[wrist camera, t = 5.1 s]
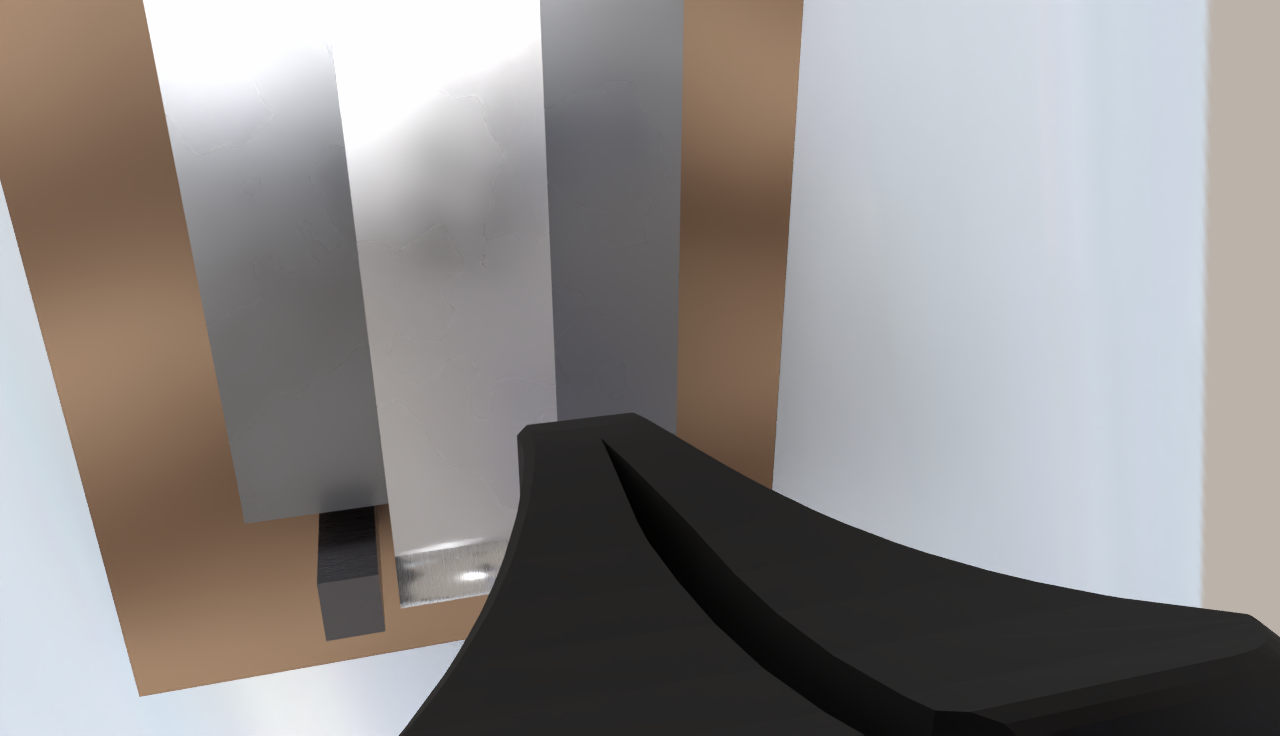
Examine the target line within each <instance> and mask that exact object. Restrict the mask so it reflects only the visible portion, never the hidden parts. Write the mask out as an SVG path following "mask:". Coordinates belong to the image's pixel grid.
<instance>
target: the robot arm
mask: <svg viewBox="0 0 1280 736" xmlns="http://www.w3.org/2000/svg"><path fill="white" fill-rule="evenodd" d="M517 447H518V466H519V485H520V499H519V505H518V511H517V515H516V519H515V523H514V526H513V529H512V533H511V536H510V539H509V542H508V546H507V549H506V552H505V556H504V559H503V561H502V564H501V567H500V569H499V572H498V574H497V577H496V579H495V582H494V584H493V587H492V589H491V591H490V593H489V595H488V598H487V600H486V602H485V604H484V606H483V609H482V611H481V613H480V615H479V616H478V618H477V620H476V622H475V624H474V626H473V627H472V629H471V631H470V633H469V635H468V636H467V638H466V640H465V642H464V644H463V646H462V647H461V649H460V651H459V652H458V654H457V656H456V657H455V659H454V661H453V662H452V664H451V665H450V667H449V668H448V670H447V672H446V673H445V675H444V676H443V677H442V679H441V680H440V681H439V683H438V684H437V686H436V687H435V688H434V690H433V691H432V692H431V694H430V695H429V696H428V698H427V699H426V700H425V702H424V703H423V704H422V706H421V707H420V709H419V710H418V711H417V713H416V714H415V715H414V717H413V718H412V719H411V721H410V722H409V723H408V725H407V726H406V727H405V729H404V730H403V731H402V732H401V733H400V735H399V736H1280V637H1279V636H1278V635H1276V634H1275V633H1274V632H1273V631H1271V630H1270V629H1269V628H1267V627H1266V626H1265V625H1263V624H1262V623H1261V622H1260V621H1258V620H1257V619H1255V618H1254V617H1252V616H1250V615H1248V614H1242V613H1233V612H1226V611H1218V610H1211V609H1203V608H1195V607H1187V606H1179V605H1172V604H1164V603H1156V602H1148V601H1140V600H1132V599H1125V598H1118V597H1112V596H1106V595H1101V594H1096V593H1090V592H1085V591H1080V590H1075V589H1070V588H1065V587H1060V586H1055V585H1049V584H1044V583H1039V582H1035V581H1030V580H1026V579H1022V578H1017V577H1013V576H1009V575H1005V574H1000V573H996V572H992V571H988V570H985V569H981V568H978V567H974V566H971V565H967V564H963V563H960V562H956V561H953V560H949V559H946V558H942V557H939V556H935V555H932V554H928V553H925V552H922V551H919V550H916V549H913V548H910V547H907V546H904V545H901V544H898V543H895V542H892V541H890V540H887V539H884V538H882V537H879V536H876V535H874V534H871V533H868V532H866V531H863V530H861V529H858V528H855V527H853V526H850V525H847V524H845V523H842V522H840V521H837V520H835V519H833V518H830V517H828V516H826V515H823V514H821V513H819V512H817V511H814V510H812V509H810V508H808V507H806V506H804V505H802V504H800V503H798V502H796V501H794V500H792V499H789V498H787V497H785V496H783V495H781V494H779V493H777V492H775V491H773V490H771V489H769V488H767V487H765V486H763V485H761V484H759V483H758V482H756V481H754V480H752V479H750V478H748V477H746V476H744V475H743V474H741V473H739V472H737V471H735V470H734V469H732V468H730V467H728V466H727V465H725V464H723V463H721V462H719V461H718V460H716V459H714V458H713V457H711V456H709V455H707V454H706V453H704V452H702V451H701V450H699V449H697V448H695V447H694V446H692V445H690V444H689V443H687V442H685V441H684V440H682V439H680V438H679V437H677V436H675V435H674V434H672V433H670V432H669V431H667V430H665V429H663V428H662V427H660V426H658V425H657V424H655V423H653V422H651V421H650V420H648V419H646V418H644V417H642V416H640V415H638V414H636V413H633V412H631V413H623V414H614V415H606V416H597V417H589V418H580V419H572V420H564V421H555V422H547V423H538V424H530V425H526V426H525V427H524V428H523V429H522V430H521V432H520V433H519V434H518V435H517Z"/></svg>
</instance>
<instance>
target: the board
mask: <svg viewBox="0 0 1280 736" xmlns="http://www.w3.org/2000/svg"><path fill="white" fill-rule="evenodd" d="M803 1H804V0H684V24H683V81H682V138H681V195H680V253H679V310H678V367H677V424H676V436H677V437H679V438H680V439H682V440H684V441H685V442H687V443H689V444H690V445H692V446H694V447H695V448H697V449H699V450H701V451H702V452H704V453H706V454H707V455H709V456H711V457H713V458H714V459H716V460H718V461H719V462H721V463H723V464H725V465H727V466H728V467H730V468H732V469H734V470H735V471H737V472H739V473H741V474H743V475H744V476H746V477H748V478H750V479H752V480H754V481H756V482H758V483H759V484H761V485H763V486H765V487H767V488H769V489H771V490H772V483H773V467H774V452H775V436H776V421H777V405H778V389H779V374H780V358H781V343H782V327H783V312H784V296H785V281H786V265H787V250H788V234H789V219H790V203H791V188H792V172H793V156H794V141H795V125H796V110H797V94H798V79H799V63H800V48H801V32H802V17H803ZM0 180H1V184H2V188H3V191H4V195H5V199H6V203H7V206H8V210H9V214H10V217H11V221H12V225H13V228H14V232H15V236H16V240H17V243H18V247H19V251H20V254H21V258H22V262H23V266H24V269H25V273H26V277H27V280H28V284H29V288H30V292H31V295H32V299H33V303H34V306H35V310H36V314H37V318H38V321H39V325H40V329H41V332H42V336H43V340H44V344H45V347H46V351H47V355H48V358H49V362H50V366H51V370H52V373H53V377H54V381H55V384H56V388H57V392H58V396H59V399H60V403H61V407H62V410H63V414H64V418H65V422H66V425H67V429H68V433H69V436H70V440H71V444H72V448H73V451H74V455H75V459H76V462H77V466H78V470H79V474H80V477H81V481H82V485H83V488H84V492H85V496H86V500H87V503H88V507H89V511H90V514H91V518H92V522H93V525H94V529H95V533H96V537H97V540H98V544H99V548H100V551H101V555H102V559H103V563H104V566H105V570H106V574H107V577H108V581H109V585H110V589H111V592H112V596H113V600H114V603H115V607H116V611H117V615H118V618H119V622H120V626H121V629H122V633H123V637H124V641H125V644H126V648H127V652H128V655H129V659H130V663H131V667H132V670H133V674H134V678H135V681H136V685H137V689H138V693H139V696H140V697H141V696H147V695H152V694H158V693H164V692H169V691H175V690H181V689H186V688H192V687H198V686H203V685H209V684H215V683H220V682H226V681H232V680H237V679H243V678H249V677H254V676H260V675H266V674H271V673H277V672H283V671H288V670H294V669H300V668H306V667H311V666H317V665H323V664H328V663H334V662H340V661H345V660H351V659H357V658H362V657H368V656H374V655H379V654H385V653H391V652H396V651H402V650H408V649H413V648H419V647H425V646H430V645H436V644H442V643H447V642H453V641H459V640H464V639H466V638H467V636H468V635H469V633H470V631H471V629H472V627H473V626H474V624H475V622H476V620H477V618H478V616H479V615H480V613H481V611H482V609H483V606H484V604H485V602H486V600H487V598H488V595H489V594H486V595H480V596H474V597H468V598H462V599H456V600H450V601H444V602H438V603H432V604H426V605H420V606H414V607H408V608H402V609H401V605H400V598H399V589H398V580H397V571H396V562H395V552H394V544H393V536H392V528H391V519H390V511H389V504H382V505H376V507H377V515H378V524H379V539H380V554H381V569H382V584H383V599H384V614H385V629H386V631H384V632H378V633H373V634H367V635H361V636H355V637H349V638H343V639H337V640H332V641H326V637H325V631H324V625H323V619H322V613H321V607H320V601H319V594H318V588H317V564H318V534H319V513H318V514H311V515H303V516H296V517H289V518H282V519H275V520H268V521H261V522H253V523H246V524H245V522H244V517H243V511H242V506H241V501H240V496H239V491H238V486H237V481H236V475H235V470H234V465H233V460H232V455H231V450H230V445H229V439H228V434H227V429H226V424H225V419H224V414H223V409H222V403H221V398H220V393H219V388H218V383H217V378H216V373H215V367H214V362H213V357H212V352H211V347H210V342H209V337H208V331H207V326H206V321H205V316H204V311H203V306H202V301H201V295H200V290H199V285H198V280H197V275H196V270H195V265H194V259H193V254H192V249H191V244H190V239H189V234H188V229H187V223H186V218H185V213H184V208H183V203H182V198H181V193H180V187H179V182H178V177H177V172H176V167H175V162H174V157H173V151H172V146H171V141H170V136H169V131H168V126H167V121H166V115H165V110H164V105H163V100H162V95H161V90H160V85H159V79H158V74H157V69H156V64H155V59H154V54H153V49H152V43H151V38H150V33H149V28H148V23H147V18H146V13H145V7H144V2H143V0H0Z"/></svg>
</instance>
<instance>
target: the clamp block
mask: <svg viewBox="0 0 1280 736" xmlns="http://www.w3.org/2000/svg"><path fill="white" fill-rule="evenodd" d="M143 2H144V7H145V13H146V18H147V23H148V28H149V33H150V38H151V43H152V49H153V54H154V59H155V64H156V69H157V74H158V79H159V85H160V90H161V95H162V100H163V105H164V110H165V115H166V121H167V126H168V131H169V136H170V141H171V146H172V151H173V157H174V162H175V167H176V172H177V177H178V182H179V187H180V193H181V198H182V203H183V208H184V213H185V218H186V223H187V229H188V234H189V239H190V244H191V249H192V254H193V259H194V265H195V270H196V275H197V280H198V285H199V290H200V295H201V301H202V306H203V311H204V316H205V321H206V326H207V331H208V337H209V342H210V347H211V352H212V357H213V362H214V367H215V373H216V378H217V383H218V388H219V393H220V398H221V403H222V409H223V414H224V419H225V424H226V429H227V434H228V439H229V445H230V450H231V455H232V460H233V465H234V470H235V475H236V481H237V486H238V491H239V496H240V501H241V506H242V511H243V517H244V522H245V524H246V523H253V522H261V521H268V520H275V519H282V518H289V517H296V516H303V515H311V514H318V513H319V534H318V564H317V588H318V594H319V601H320V607H321V613H322V619H323V625H324V631H325V637H326V641H332V640H337V639H343V638H349V637H355V636H361V635H367V634H373V633H378V632H384V631H386V629H385V614H384V599H383V584H382V569H381V554H380V539H379V524H378V515H377V507H376V505H382V504H389V503H388V495H387V487H386V478H385V470H384V462H383V454H382V446H381V437H380V429H379V421H378V413H377V405H376V397H375V388H374V380H373V372H372V364H371V356H370V347H369V339H368V331H367V323H366V315H365V306H364V298H363V290H362V282H361V274H360V265H359V257H358V249H357V241H356V233H355V224H354V216H353V208H352V200H351V192H350V183H349V175H348V167H347V159H346V151H345V142H344V134H343V126H342V118H341V110H340V101H339V93H338V85H337V77H336V69H335V61H334V52H333V44H332V36H331V28H330V20H329V11H328V3H327V0H143ZM540 21H541V45H542V69H543V93H544V117H545V140H546V164H547V188H548V212H549V236H550V259H551V283H552V307H553V331H554V355H555V378H556V402H557V421H564V420H572V419H580V418H589V417H597V416H606V415H614V414H623V413H631V412H633V413H636V414H638V415H640V416H642V417H644V418H646V419H648V420H650V421H651V422H653V423H655V424H657V425H658V426H660V427H662V428H663V429H665V430H667V431H669V432H670V433H672V434H674V435H675V436H676V424H677V367H678V310H679V253H680V195H681V138H682V81H683V24H684V0H540Z"/></svg>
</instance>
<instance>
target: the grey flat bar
mask: <svg viewBox="0 0 1280 736" xmlns="http://www.w3.org/2000/svg"><path fill="white" fill-rule="evenodd" d="M327 3H328V11H329V20H330V28H331V36H332V44H333V52H334V61H335V69H336V77H337V85H338V93H339V101H340V110H341V118H342V126H343V134H344V142H345V151H346V159H347V167H348V175H349V183H350V192H351V200H352V208H353V216H354V224H355V233H356V241H357V249H358V257H359V265H360V274H361V282H362V290H363V298H364V306H365V315H366V323H367V331H368V339H369V347H370V356H371V364H372V372H373V380H374V388H375V397H376V405H377V413H378V421H379V429H380V437H381V446H382V454H383V462H384V470H385V478H386V487H387V495H388V503H389V511H390V519H391V528H392V536H393V544H394V552H395V562H396V571H397V580H398V589H399V598H400V605H401V609H402V608H408V607H414V606H420V605H426V604H432V603H438V602H444V601H450V600H456V599H462V598H468V597H474V596H480V595H486V594H489V593H490V591H491V589H492V587H493V584H494V582H495V579H496V577H497V574H498V572H499V569H500V567H501V564H502V561H503V559H504V556H505V552H506V549H507V546H508V542H509V539H510V536H511V533H512V529H513V526H514V523H515V519H516V515H517V511H518V505H519V499H520V485H519V466H518V447H517V435H518V434H519V433H520V432H521V430H522V429H523V428H524V427H525V426H526V425H530V424H538V423H547V422H555V421H557V402H556V378H555V355H554V331H553V307H552V283H551V259H550V236H549V212H548V188H547V164H546V140H545V117H544V93H543V69H542V45H541V21H540V0H327Z"/></svg>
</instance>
